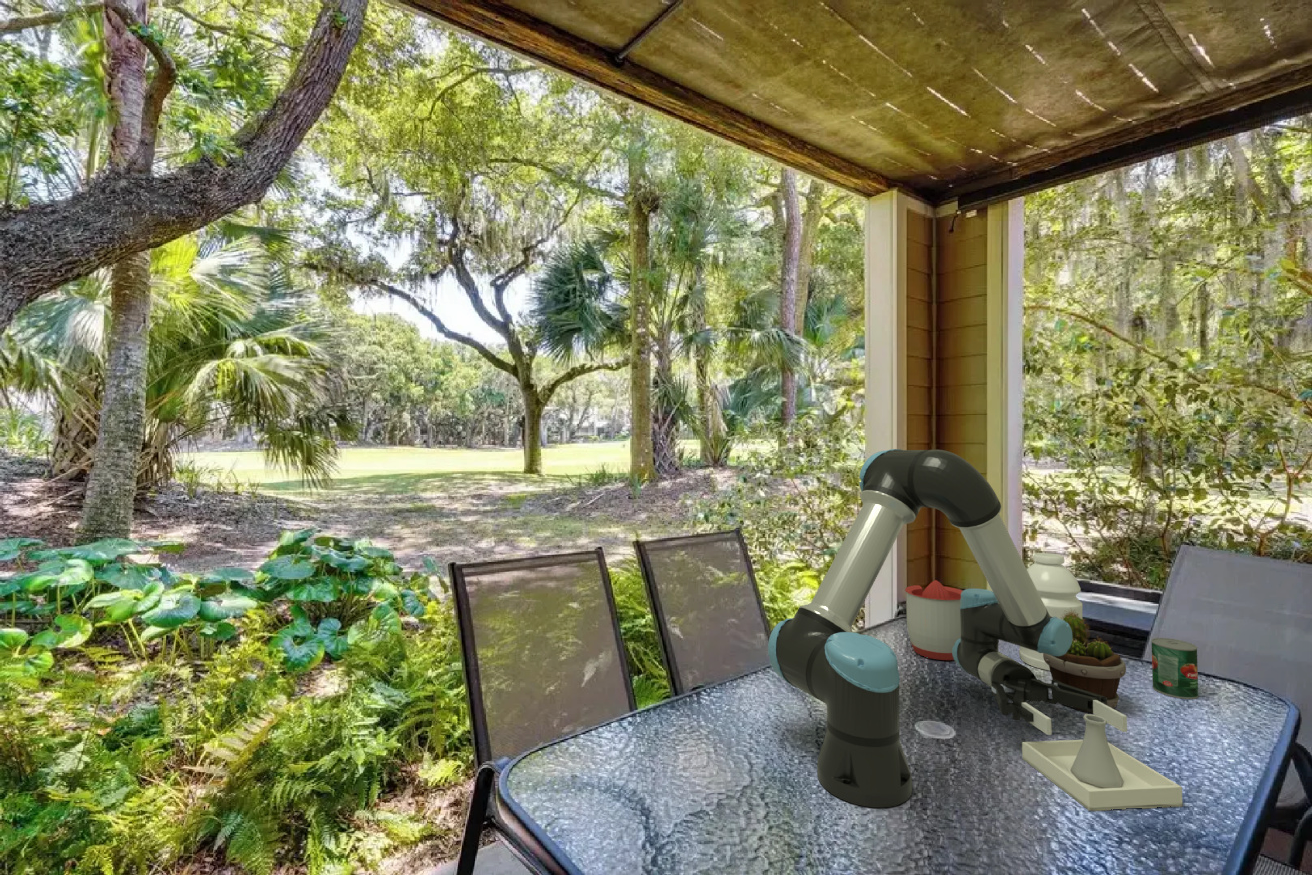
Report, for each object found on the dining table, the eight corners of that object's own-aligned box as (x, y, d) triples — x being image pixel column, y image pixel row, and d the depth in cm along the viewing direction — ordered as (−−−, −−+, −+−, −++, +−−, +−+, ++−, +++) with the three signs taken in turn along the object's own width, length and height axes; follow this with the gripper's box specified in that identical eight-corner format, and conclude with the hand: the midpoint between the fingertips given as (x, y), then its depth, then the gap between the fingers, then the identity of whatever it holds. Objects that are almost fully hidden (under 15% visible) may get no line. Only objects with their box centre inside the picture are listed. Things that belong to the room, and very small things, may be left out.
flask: (1127, 795, 93) (1126, 732, 94) (1072, 782, 97) (1071, 722, 97) (1119, 773, 100) (1118, 714, 100) (1068, 761, 103) (1066, 705, 103)
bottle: (1006, 657, 155) (1004, 552, 156) (1042, 650, 160) (1040, 548, 161) (1059, 677, 142) (1057, 561, 142) (1097, 668, 147) (1094, 557, 147)
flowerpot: (1145, 721, 119) (1142, 623, 119) (1061, 715, 122) (1058, 619, 122) (1105, 692, 133) (1103, 604, 133) (1031, 687, 136) (1029, 601, 136)
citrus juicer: (958, 644, 166) (957, 573, 167) (977, 666, 149) (976, 588, 150) (900, 640, 170) (899, 571, 170) (912, 662, 153) (910, 585, 153)
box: (1089, 811, 90) (1089, 791, 90) (1022, 758, 105) (1022, 742, 106) (1182, 806, 91) (1181, 787, 91) (1102, 755, 106) (1102, 738, 106)
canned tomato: (1203, 702, 127) (1201, 651, 128) (1156, 694, 132) (1154, 645, 132) (1193, 689, 134) (1192, 641, 134) (1149, 682, 138) (1148, 635, 139)
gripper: (1065, 693, 123) (1156, 744, 101) (949, 697, 121) (1017, 749, 100) (1064, 657, 123) (1155, 701, 102) (949, 660, 122) (1016, 706, 100)
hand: (1087, 725), depth 101 cm, fingers open, 13 cm apart
